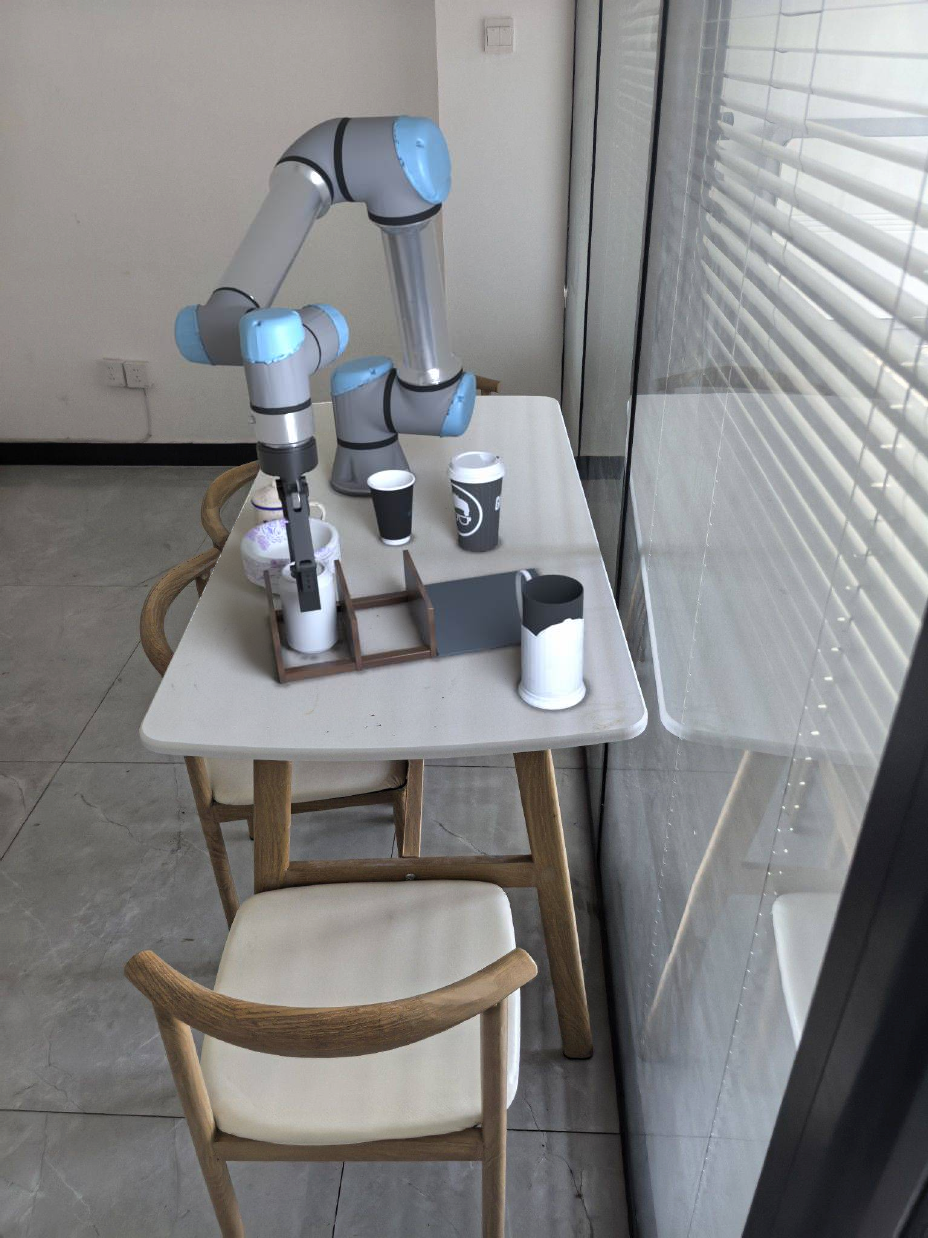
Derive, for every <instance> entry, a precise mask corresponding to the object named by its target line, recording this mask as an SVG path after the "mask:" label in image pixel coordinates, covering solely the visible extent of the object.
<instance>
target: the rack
mask: <svg viewBox="0 0 928 1238" xmlns="http://www.w3.org/2000/svg"><path fill="white" fill-rule="evenodd" d="M402 558H403V559H402V560H403V573H404V584H405V585H404V586H405V590H399V591H392V592H387V593H379V594H374V595H368V596H361V597H353V598H351V594H350V592H349V591H350V590H349V588H348V585H347V581H346V577H345V574H344V571H343V567H342V565H341V564H342V563H341V564H340V561H339V559H338V560H334V566H335V572H334V573H335V582H336V591H337V597H338V600H336V607H337V614H341V618H342V621H343V625H344V628H345V632H346V636H347V640H348V643H349V647H350V651H351V654H352V655H351V656H352V657H347V658H346V657H345V658H340V659H334V660H329V661H328V660H327V661H322V662H316V663H309V664H304V665H297V666H291V667H287V668H285V663H284V658H283V651H282V645H281V638H280V633H279V632H280V631H279V626H278V623H282V622H283V623H284V617H283V611H282V609H276V606H275V601H274V595H273V594H274V593H272V588H271V582H270V576H269V570H263V574H264V581H265V588H266V589H265V588H264V589H265V595H266V601H267V608H268V614H269V622H270V628H271V635H272V641H273V646H274V654H275V659H276V665H277V671H278V678H279V682H280V684H286V683H289V682H294V681H301V680H307V679H312V678H313V679H314V678H318V677H319V678H320V677H324V676H325V677H326V676H330V675H331V676H332V675H338V674H343V673H349V672H354V671H357V672H358V671H359V672H361V671H363V670H367V669H372V668H377V667H384V666H391V665H396V664H397V665H398V664H402V663H408V662H415V661H420V660H427V659H436V658H437V657H438V654H437V651H436V639H435V623H434V608H433V606H432V604H431V601H430V599H429V597H428V594H427V592H426V590H425V588H424V585H425V584H424V583H423V581H422V579H421V576H420V574H419V572H418V570H417V567H416V565H415V563H414V561H413V558H412V556H411V554H410V551H409V550H408V549H403V550H402ZM406 603H408V604H409V607H410V609H411V612H412V614H413V616H414V619H415V622H416V624H417V627H418V630H419V632H420V634H421V637H422V639H423V642H424V645H420V646H413V647H407V648H401V649H397V650H396V649H394V650H389V651H383V652H377V653H370V654H365V655H362V651H361V642H360V633H359V623H358V618H357V615H356V611H359V610H366V609H373V608H380V607H385V606H392V605H398V604H406Z"/></svg>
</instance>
